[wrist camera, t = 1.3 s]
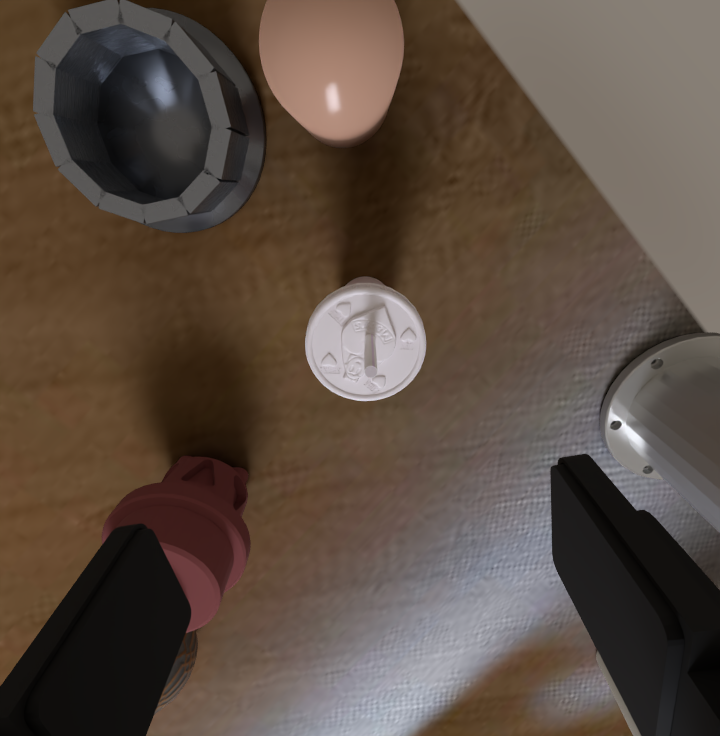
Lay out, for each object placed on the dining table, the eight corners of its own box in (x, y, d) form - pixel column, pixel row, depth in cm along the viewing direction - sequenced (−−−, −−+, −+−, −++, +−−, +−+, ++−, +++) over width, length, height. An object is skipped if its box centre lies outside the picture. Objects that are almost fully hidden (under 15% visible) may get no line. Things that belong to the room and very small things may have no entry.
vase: (198, 653, 46) (162, 752, 38) (134, 637, 45) (84, 734, 37) (213, 612, 44) (179, 708, 36) (145, 594, 43) (95, 688, 35)
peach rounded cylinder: (382, 21, 25) (391, -64, 16) (398, 137, 27) (413, 114, 19) (281, 45, 25) (240, -25, 17) (305, 157, 27) (280, 143, 19)
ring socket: (233, -10, 24) (203, -55, 20) (287, 212, 29) (273, 216, 24) (37, 39, 25) (-33, 8, 21) (120, 246, 30) (77, 257, 25)
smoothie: (424, 278, 30) (469, 346, 17) (387, 356, 33) (401, 466, 20) (340, 241, 29) (322, 284, 16) (308, 324, 32) (269, 417, 19)
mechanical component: (223, 541, 40) (131, 479, 37) (293, 478, 37) (199, 407, 35) (167, 681, 29) (30, 607, 26) (261, 607, 26) (118, 515, 23)
